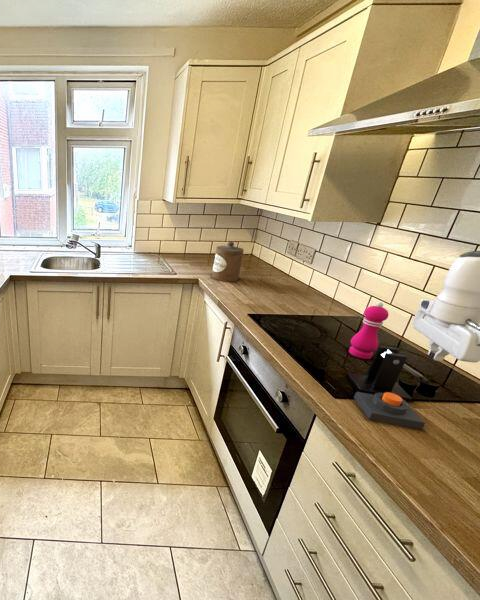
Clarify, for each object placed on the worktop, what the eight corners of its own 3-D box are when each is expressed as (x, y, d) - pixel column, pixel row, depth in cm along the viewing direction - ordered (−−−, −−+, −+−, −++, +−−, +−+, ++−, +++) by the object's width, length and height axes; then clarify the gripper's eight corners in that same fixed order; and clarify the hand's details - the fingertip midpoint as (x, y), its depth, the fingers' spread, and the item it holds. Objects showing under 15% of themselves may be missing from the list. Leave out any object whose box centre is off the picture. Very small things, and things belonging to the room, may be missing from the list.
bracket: (392, 383, 96) (409, 346, 92) (410, 402, 89) (430, 363, 84) (346, 375, 100) (359, 340, 95) (359, 393, 92) (375, 355, 87)
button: (395, 399, 84) (397, 393, 84) (403, 407, 81) (405, 402, 80) (378, 396, 85) (381, 390, 85) (385, 404, 82) (388, 399, 81)
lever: (412, 376, 92) (421, 371, 91) (423, 386, 88) (432, 381, 87) (377, 352, 93) (385, 346, 92) (386, 361, 88) (395, 355, 87)
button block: (401, 406, 87) (407, 394, 85) (422, 429, 79) (428, 417, 77) (353, 397, 90) (358, 386, 89) (368, 419, 82) (374, 407, 81)
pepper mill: (371, 352, 113) (392, 301, 105) (375, 362, 107) (398, 308, 99) (345, 347, 116) (364, 296, 108) (348, 356, 110) (368, 303, 103)
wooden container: (207, 274, 198) (213, 239, 189) (231, 274, 198) (238, 239, 189) (217, 281, 184) (224, 244, 176) (242, 281, 184) (250, 244, 176)
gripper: (508, 332, 71) (480, 382, 77) (444, 299, 89) (425, 342, 95) (471, 328, 73) (446, 377, 78) (416, 297, 91) (399, 339, 96)
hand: (434, 358), depth 87 cm, fingers closed
